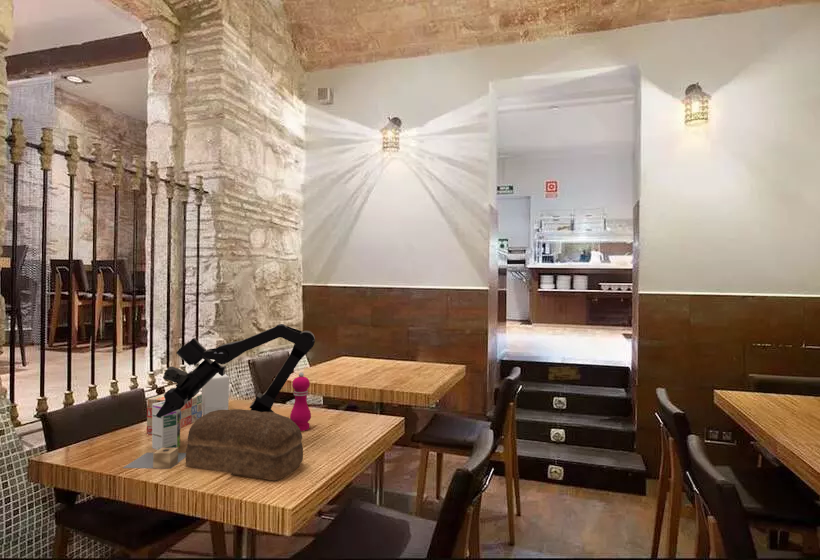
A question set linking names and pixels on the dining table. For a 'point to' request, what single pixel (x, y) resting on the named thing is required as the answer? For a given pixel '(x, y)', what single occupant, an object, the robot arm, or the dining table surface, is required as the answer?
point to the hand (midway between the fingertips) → (161, 413)
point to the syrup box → (165, 428)
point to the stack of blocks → (187, 412)
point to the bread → (245, 444)
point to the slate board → (149, 461)
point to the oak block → (165, 458)
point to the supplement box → (215, 394)
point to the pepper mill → (301, 403)
